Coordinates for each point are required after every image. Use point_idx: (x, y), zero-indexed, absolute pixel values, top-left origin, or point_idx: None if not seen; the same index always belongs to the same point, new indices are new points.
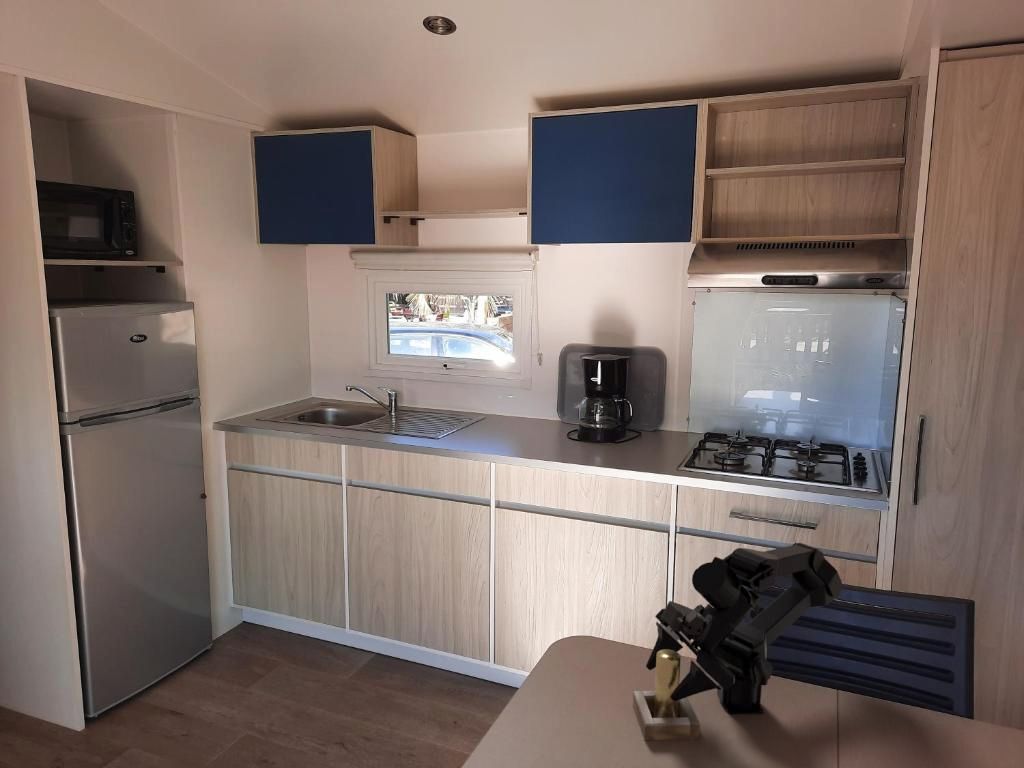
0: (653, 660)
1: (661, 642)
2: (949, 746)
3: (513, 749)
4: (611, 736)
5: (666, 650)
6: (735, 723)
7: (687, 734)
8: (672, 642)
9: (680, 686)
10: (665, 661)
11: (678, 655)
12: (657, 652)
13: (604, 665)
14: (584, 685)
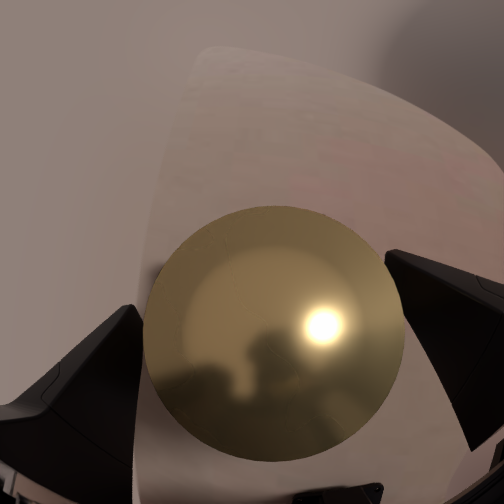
0: (411, 278)
1: (500, 314)
2: None
3: (213, 64)
4: (226, 187)
5: (382, 334)
6: (259, 497)
7: None
8: (499, 398)
9: (83, 345)
10: (164, 268)
11: (272, 445)
12: (343, 227)
13: (477, 225)
14: (408, 167)
